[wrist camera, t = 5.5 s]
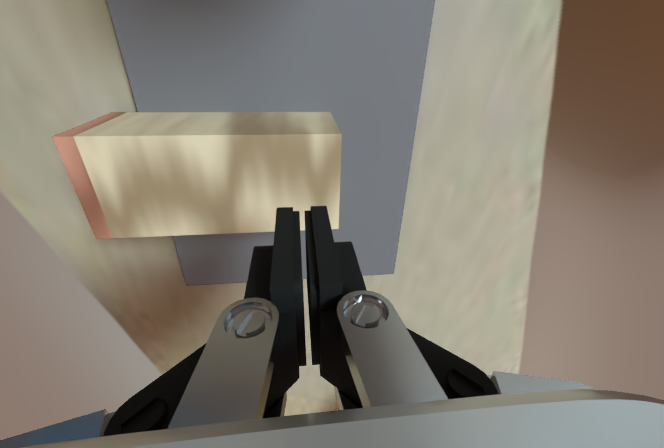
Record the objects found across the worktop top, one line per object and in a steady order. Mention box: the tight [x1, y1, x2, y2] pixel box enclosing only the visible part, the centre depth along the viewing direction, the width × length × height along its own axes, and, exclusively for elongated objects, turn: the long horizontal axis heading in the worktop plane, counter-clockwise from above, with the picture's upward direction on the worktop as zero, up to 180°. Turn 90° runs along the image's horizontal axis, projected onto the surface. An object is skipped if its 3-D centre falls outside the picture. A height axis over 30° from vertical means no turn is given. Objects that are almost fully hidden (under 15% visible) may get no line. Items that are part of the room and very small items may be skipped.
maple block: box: [52, 112, 342, 239], centre depth 17 cm, size 5×5×12 cm
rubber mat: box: [107, 0, 435, 286], centre depth 20 cm, size 20×16×1 cm
